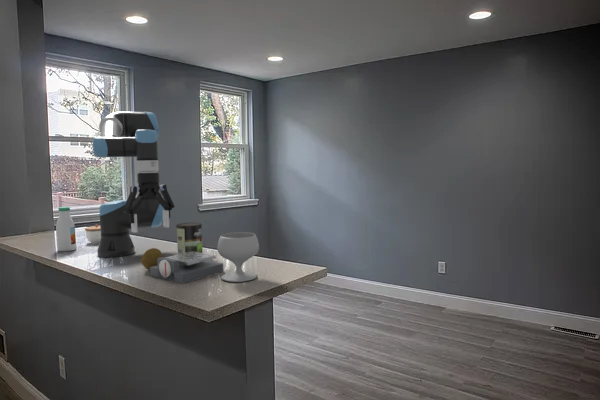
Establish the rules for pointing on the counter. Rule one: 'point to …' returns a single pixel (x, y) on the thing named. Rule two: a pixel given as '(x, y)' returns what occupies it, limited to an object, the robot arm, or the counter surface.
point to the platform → (191, 257)
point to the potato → (151, 258)
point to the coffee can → (189, 237)
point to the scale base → (184, 270)
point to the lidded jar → (93, 234)
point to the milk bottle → (65, 231)
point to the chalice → (238, 253)
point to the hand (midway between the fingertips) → (151, 229)
